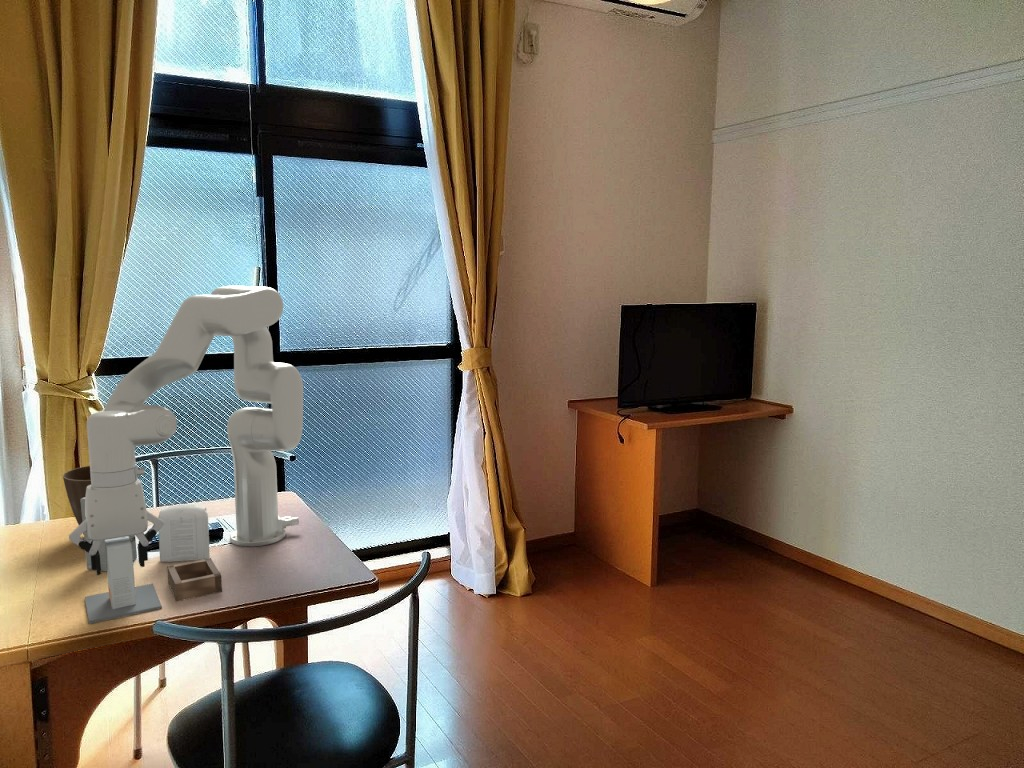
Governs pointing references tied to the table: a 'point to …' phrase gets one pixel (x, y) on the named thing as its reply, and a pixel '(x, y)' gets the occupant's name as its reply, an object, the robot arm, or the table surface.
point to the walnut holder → (194, 579)
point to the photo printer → (184, 533)
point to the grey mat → (102, 608)
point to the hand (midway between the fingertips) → (120, 567)
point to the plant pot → (77, 488)
